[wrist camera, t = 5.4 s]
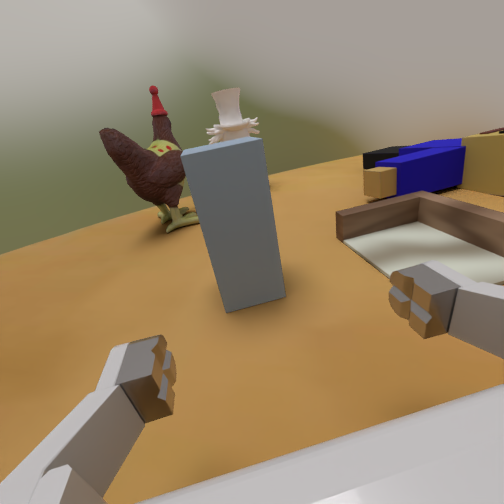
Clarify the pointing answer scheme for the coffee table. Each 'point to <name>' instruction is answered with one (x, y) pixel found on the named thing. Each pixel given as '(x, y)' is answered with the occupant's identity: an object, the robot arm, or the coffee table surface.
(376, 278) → the coffee table surface
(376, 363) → the coffee table surface
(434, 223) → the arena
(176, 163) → the figurine
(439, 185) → the toy
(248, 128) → the figurine
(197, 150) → the block
